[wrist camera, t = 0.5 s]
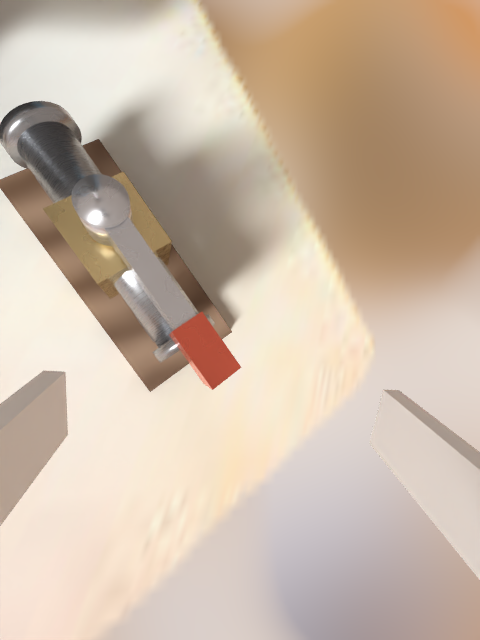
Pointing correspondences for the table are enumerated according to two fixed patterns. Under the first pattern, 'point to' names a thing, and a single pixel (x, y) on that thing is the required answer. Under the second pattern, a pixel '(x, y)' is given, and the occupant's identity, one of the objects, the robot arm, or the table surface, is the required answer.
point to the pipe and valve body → (58, 182)
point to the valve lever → (151, 275)
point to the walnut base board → (107, 311)
